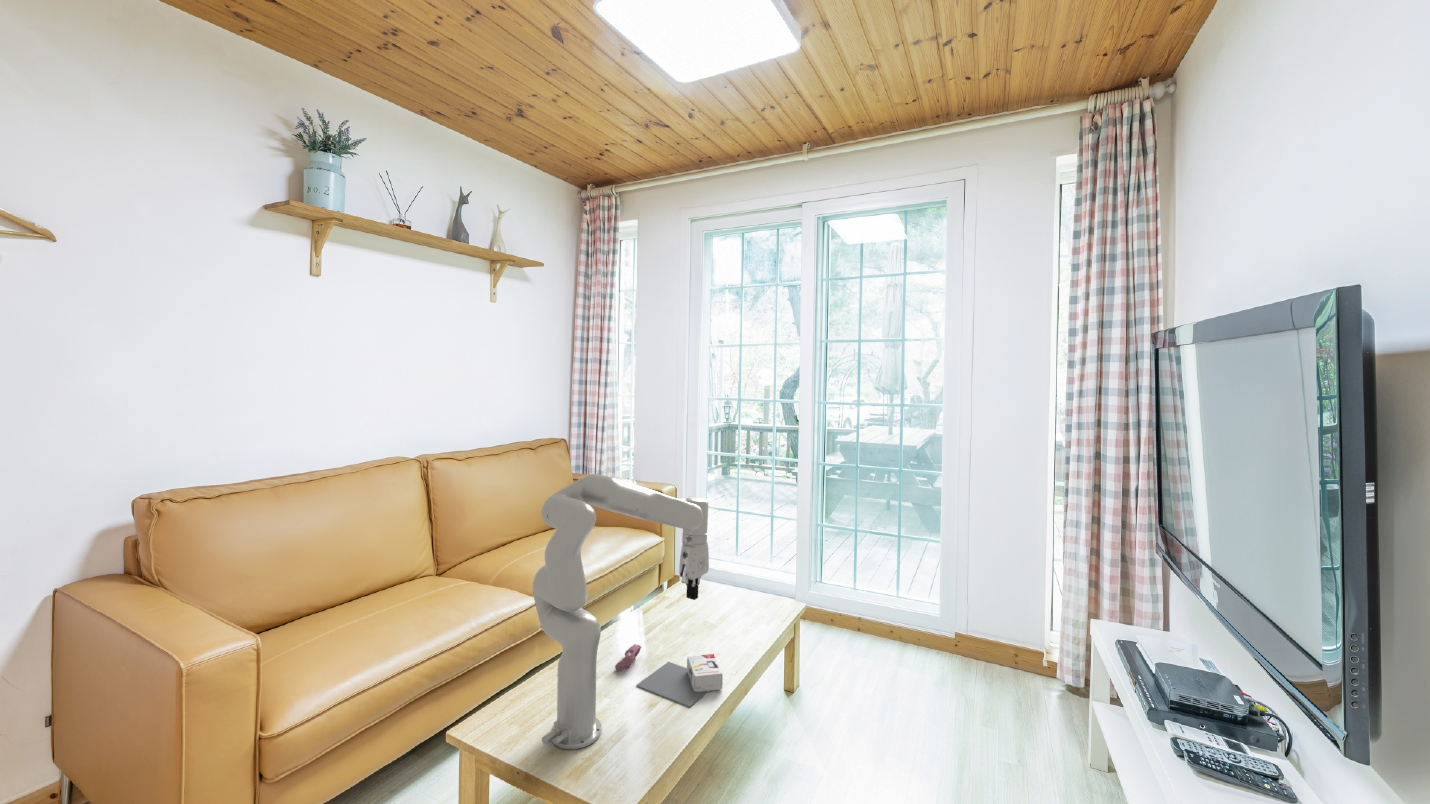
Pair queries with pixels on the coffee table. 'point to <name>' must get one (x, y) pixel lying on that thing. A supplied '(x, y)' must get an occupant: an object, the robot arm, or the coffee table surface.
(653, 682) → the mat
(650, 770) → the coffee table surface
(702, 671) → the ink box
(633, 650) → the video game controller
